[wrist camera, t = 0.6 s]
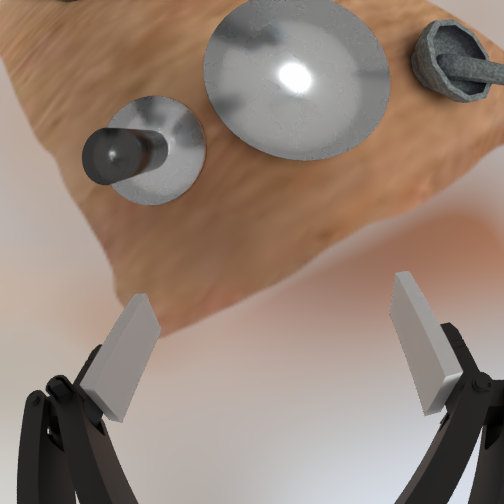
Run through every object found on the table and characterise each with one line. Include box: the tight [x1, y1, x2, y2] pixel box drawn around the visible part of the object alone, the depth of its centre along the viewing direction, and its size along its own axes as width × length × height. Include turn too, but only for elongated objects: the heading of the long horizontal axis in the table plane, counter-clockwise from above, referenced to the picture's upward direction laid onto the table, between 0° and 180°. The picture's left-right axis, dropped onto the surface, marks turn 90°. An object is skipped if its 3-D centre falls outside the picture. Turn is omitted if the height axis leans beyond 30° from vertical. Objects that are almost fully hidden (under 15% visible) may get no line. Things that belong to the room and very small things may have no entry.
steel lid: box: [82, 96, 206, 205], centre depth 25 cm, size 12×12×12 cm
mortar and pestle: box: [411, 20, 504, 103], centre depth 20 cm, size 11×9×12 cm
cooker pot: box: [203, 0, 390, 160], centre depth 24 cm, size 16×16×8 cm
